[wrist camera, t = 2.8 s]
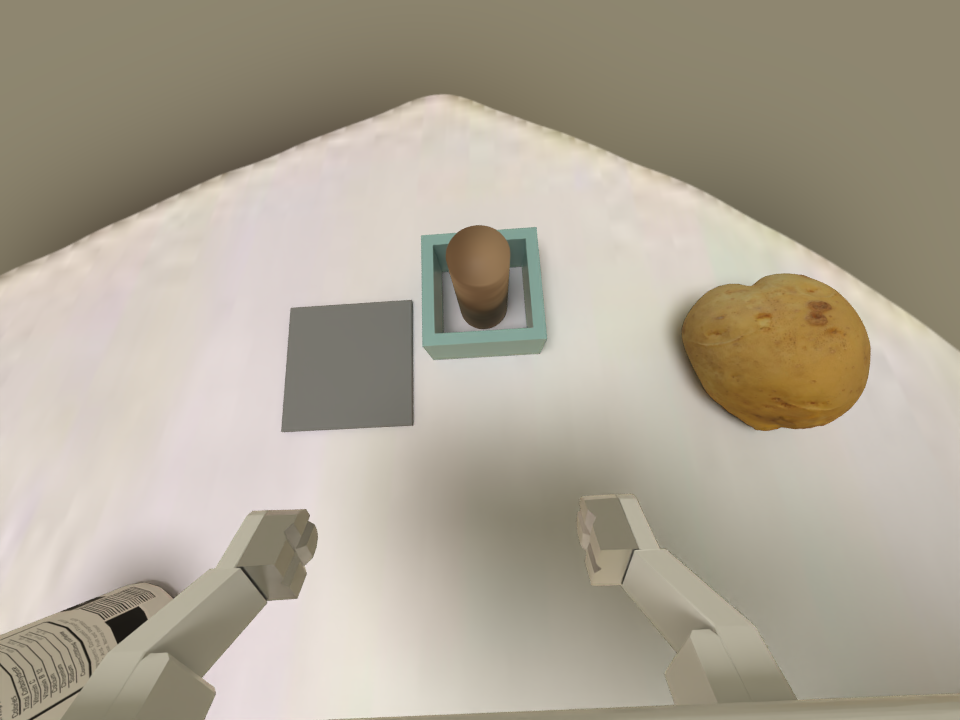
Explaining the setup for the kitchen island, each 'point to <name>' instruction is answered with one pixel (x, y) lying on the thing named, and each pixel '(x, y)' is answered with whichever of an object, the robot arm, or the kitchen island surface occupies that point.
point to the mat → (349, 367)
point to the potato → (779, 351)
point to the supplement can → (68, 650)
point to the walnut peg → (480, 274)
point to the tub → (487, 341)
